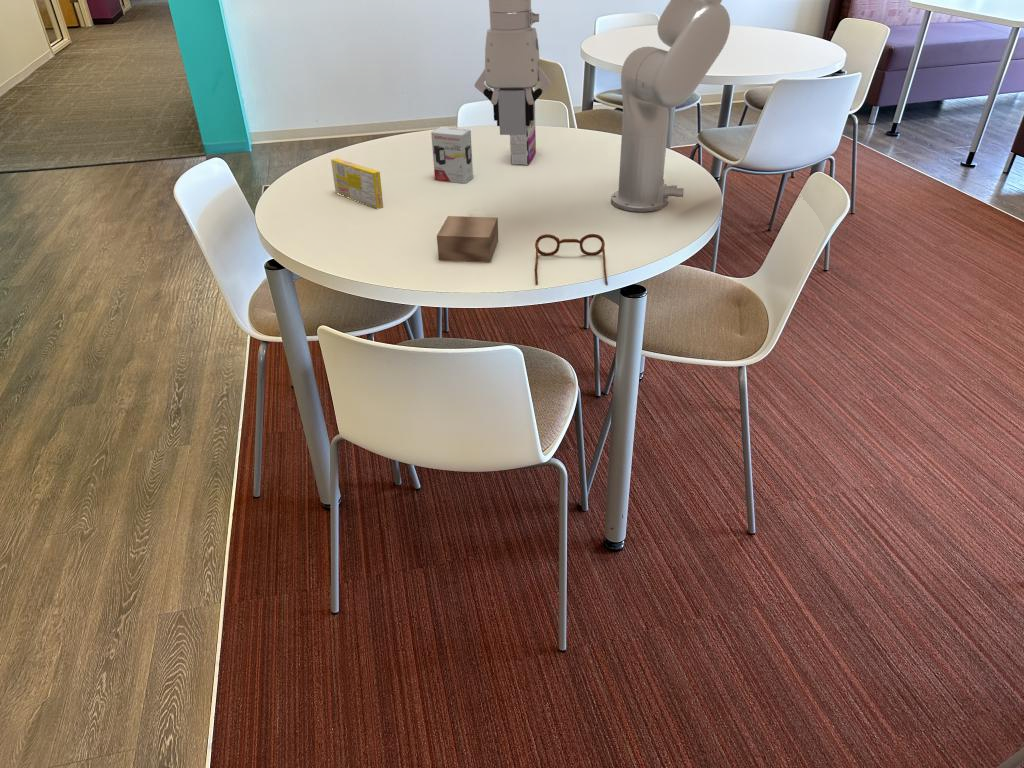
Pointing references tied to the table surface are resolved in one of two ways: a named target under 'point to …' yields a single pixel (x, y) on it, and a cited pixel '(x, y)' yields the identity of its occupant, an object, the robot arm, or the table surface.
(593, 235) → the glasses
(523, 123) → the grey block
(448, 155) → the ink box
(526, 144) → the candy bar box
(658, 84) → the robot arm
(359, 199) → the candy box
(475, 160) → the table surface
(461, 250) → the block
